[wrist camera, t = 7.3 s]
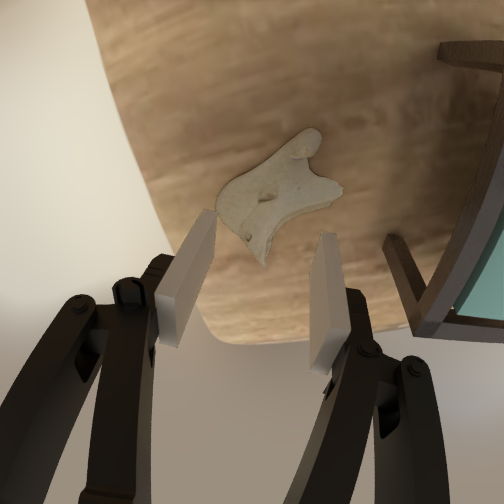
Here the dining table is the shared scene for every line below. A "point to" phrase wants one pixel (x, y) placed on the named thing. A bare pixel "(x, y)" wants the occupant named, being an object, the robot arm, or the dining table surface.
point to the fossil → (276, 194)
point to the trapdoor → (486, 280)
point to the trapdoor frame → (458, 226)
